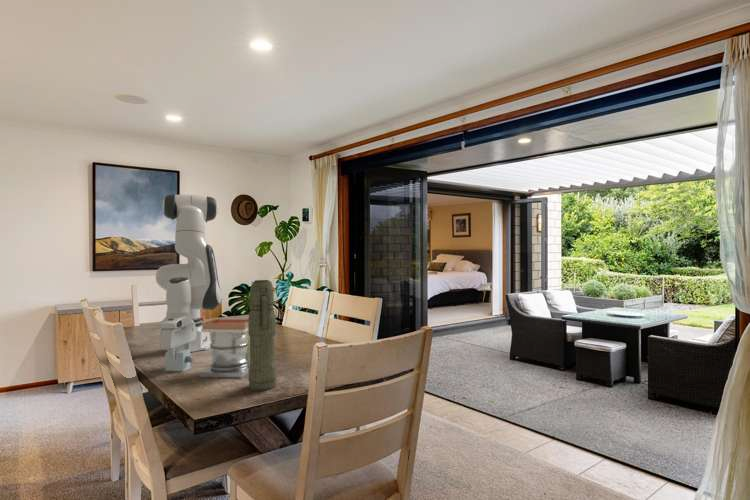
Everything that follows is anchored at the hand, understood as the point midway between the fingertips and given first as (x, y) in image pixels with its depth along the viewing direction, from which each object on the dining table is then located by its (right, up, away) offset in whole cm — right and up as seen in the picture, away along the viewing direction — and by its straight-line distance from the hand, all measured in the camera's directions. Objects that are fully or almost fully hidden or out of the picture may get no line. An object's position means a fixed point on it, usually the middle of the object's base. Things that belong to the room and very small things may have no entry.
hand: (179, 357), depth 169 cm
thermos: (+37, -5, -22) cm, 43 cm away
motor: (+20, -5, -3) cm, 21 cm away
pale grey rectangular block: (-1, -5, 0) cm, 5 cm away
